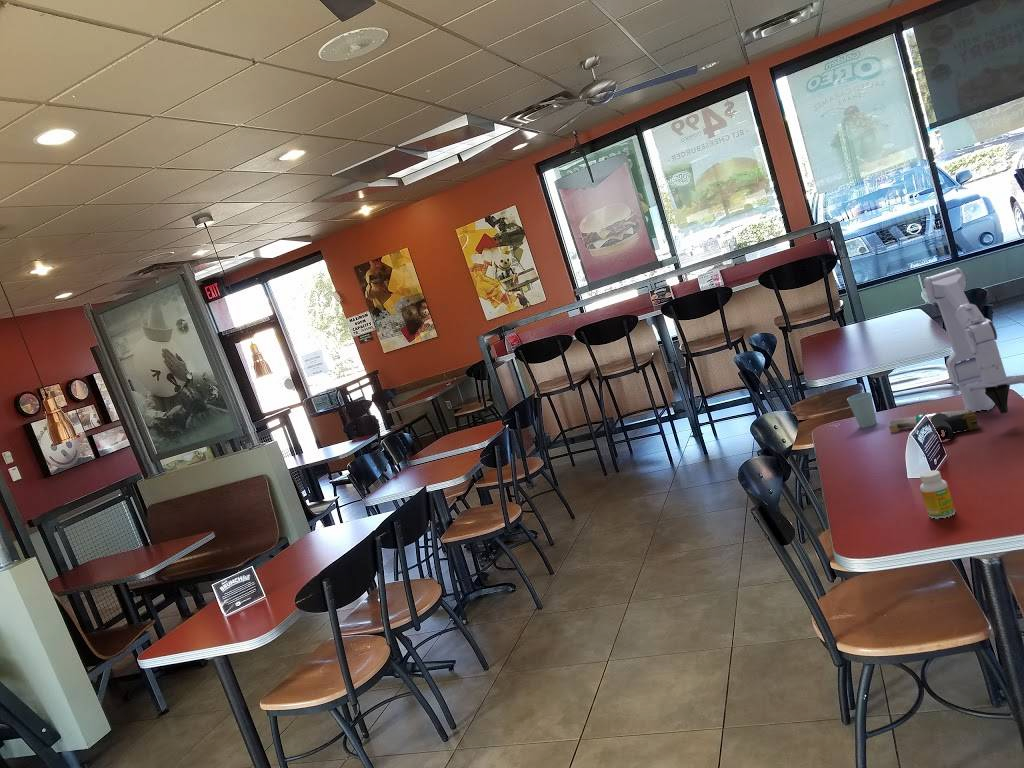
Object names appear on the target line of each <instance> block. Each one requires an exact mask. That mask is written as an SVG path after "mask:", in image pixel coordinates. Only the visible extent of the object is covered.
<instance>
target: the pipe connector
mask: <svg viewBox="0 0 1024 768" xmlns="http://www.w3.org/2000/svg"><path fill="white" fill-rule="evenodd" d="M934 414H935V415H933V416H932V418H931V422H932V424H933V425H934V427H935V429H936V431H937V432H938V434H939V435H940V438H941V440H942V441H943V440H945V439H951V438H952V439H953V438H954V434H953V432H957V431H964V430H969V431H970V430H971V431H974V430H977V429H980V427H979V424H978V420H977V418H976V415H975V412H969V413H967V412H966V413H964V414H960V415H956V416H951V417H948V416H947V415H945V414H943V412H937V414H936V413H934ZM973 429H974V430H973ZM941 430H944V432H945V431H946V432H945V436H944V437H942V436H941V434H942V433H941ZM952 439H951V440H952Z"/></svg>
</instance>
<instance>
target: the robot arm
mask: <svg viewBox="0 0 1024 768" xmlns="http://www.w3.org/2000/svg"><path fill="white" fill-rule="evenodd" d="M966 284H967V282H966V277H965V274H964V272H963V270H962V269H961V268H959V267H955V268H954V269H951V270H950V269H949V270H947V271H944V272H940V273H937V274H934V275H931V276H927V277H925V278H924V279H923V286H924V289H925V291H926V296H927V298H928V301H929V302H930V303H936V304H937V307H938V308H939V311H940V314H941V318H942V320H943V323H944V327H945V329H946V333H947V337H948V339H949V342H950V345H951V349H952V353H951V354H950V356H948V358H947V359H946V363H945V364H946V370H947V374H948V376H949V379H950V381H951V382H952V383H953V384H954V385H957V386H958V389H959V391H960V392H959V393H960V395H961V398H962V402H963V405H964V409H969V410H971V411H980V410H987V411H991V410H992V409H993V407H994V406H996V407H997V409H998V410H999V413H1000V414H1007V413H1008V411H1009V409H1008V408H1009V407H1008V400H1009V399H1008V397H1009V391H1010V389H1011V387H1010V386H1012V385H1018V384H1024V374H1019V375H1008V376H1007V373H1006V371H1005V368H1004V364H1003V360H1002V358H1001V353H1000V352H999V347H998V345H997V341H996V340H997V339H998V333H997V330H996V327H995V324H994V323H993V321H991V319H988V318H987V317H985V316H984V315H983V313H982V312H981V311H980V309H979V308H978V306H977V305H976V304H974V303H970V301H969V299H968V296H967V295H966V294H965V291H964V290H966ZM990 409H991V410H990ZM980 412H981V411H980Z"/></svg>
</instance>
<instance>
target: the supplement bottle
mask: <svg viewBox="0 0 1024 768" xmlns="http://www.w3.org/2000/svg"><path fill="white" fill-rule="evenodd" d="M919 478H920V480H921V482H922V483H921V484H920V486H919V488H920V491H921V495H922V499H923V501H924V505H925V507H926V511H927V512H926V513H927V514H928V517H929V518H930V517H931V518H930V519H933V518H935V519H934V520H940V519H939V518H944V519H947V518H946V517H948V518H951V517H952V515H953V516H954V515H955V514H956V513H955V512H956V511H957V510H956V507H955V505H954V502H953V501H954V500H953V498H952V494H951V491H950V488H949V486H948V482H947V481H946V480H944V479H942V475H941V472H940V470H927V471H924V472H922V473H920V475H919ZM950 516H951V517H950Z"/></svg>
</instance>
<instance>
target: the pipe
mask: <svg viewBox="0 0 1024 768" xmlns="http://www.w3.org/2000/svg"><path fill="white" fill-rule="evenodd" d="M966 412H967V413H969V412H972V411H971V410H969V409H965V408H964V409H956V410H952V411H951V410H950V411H944V412H942V413H943V414H945V415H947V416H948V417H951V416H956V415H960V414H964V413H966ZM937 413H938V412H937ZM937 413H931V414H926V413H925V414H918V415H916V416H910V417H904V418H903V417H902V418H897V419H890V421H889V422H890V424H889V425H888V428H889V432H890V434H894V433H900V432H901V430H902V429H905V428H912V427H916V426H915V425H916V424H917V423H918V422H919V421H920V419H921V418H922V417H923V416H927V417H929V419H930V420H931V418H932V416H933V415H935V414H937Z"/></svg>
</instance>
